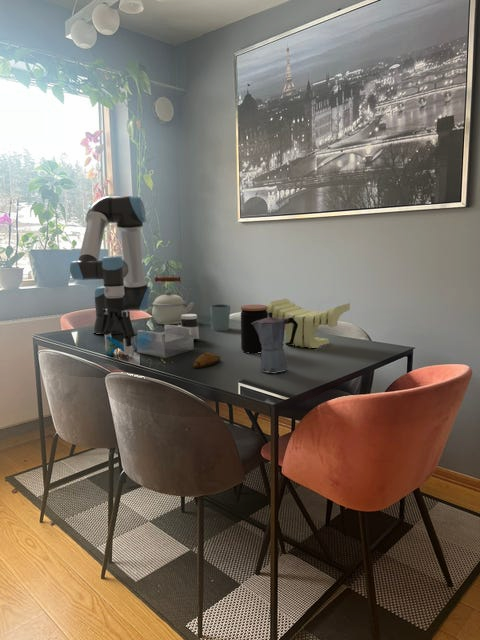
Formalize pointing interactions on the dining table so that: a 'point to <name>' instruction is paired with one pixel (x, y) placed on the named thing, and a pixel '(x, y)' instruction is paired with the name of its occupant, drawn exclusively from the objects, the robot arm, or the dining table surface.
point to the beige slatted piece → (305, 321)
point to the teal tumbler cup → (220, 317)
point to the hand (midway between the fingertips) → (118, 352)
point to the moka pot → (273, 341)
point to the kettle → (169, 304)
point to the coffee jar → (251, 327)
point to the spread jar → (191, 324)
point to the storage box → (164, 341)
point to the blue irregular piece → (114, 345)
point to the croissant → (206, 360)
